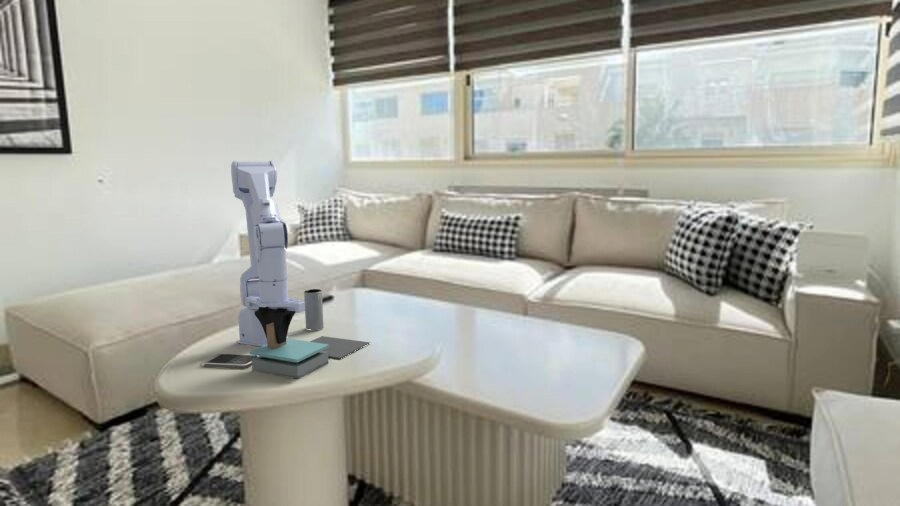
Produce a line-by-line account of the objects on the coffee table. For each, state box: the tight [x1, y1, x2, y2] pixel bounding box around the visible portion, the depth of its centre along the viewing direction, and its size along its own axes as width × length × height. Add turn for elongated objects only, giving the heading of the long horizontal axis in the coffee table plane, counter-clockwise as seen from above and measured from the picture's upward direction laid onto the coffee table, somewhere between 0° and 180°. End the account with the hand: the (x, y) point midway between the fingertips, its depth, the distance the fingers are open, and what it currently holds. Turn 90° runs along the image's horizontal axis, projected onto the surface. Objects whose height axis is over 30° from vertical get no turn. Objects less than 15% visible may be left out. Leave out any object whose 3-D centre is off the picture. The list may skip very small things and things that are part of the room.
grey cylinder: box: [303, 288, 324, 331], centre depth 145 cm, size 4×4×10 cm
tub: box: [251, 351, 329, 380], centre depth 116 cm, size 12×10×2 cm
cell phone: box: [200, 353, 258, 370], centre depth 120 cm, size 6×11×1 cm, turn 81°
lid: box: [249, 323, 329, 363], centre depth 116 cm, size 12×10×6 cm
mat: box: [309, 335, 371, 360], centre depth 129 cm, size 14×12×1 cm
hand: (276, 341), depth 117 cm, fingers closed on lid
